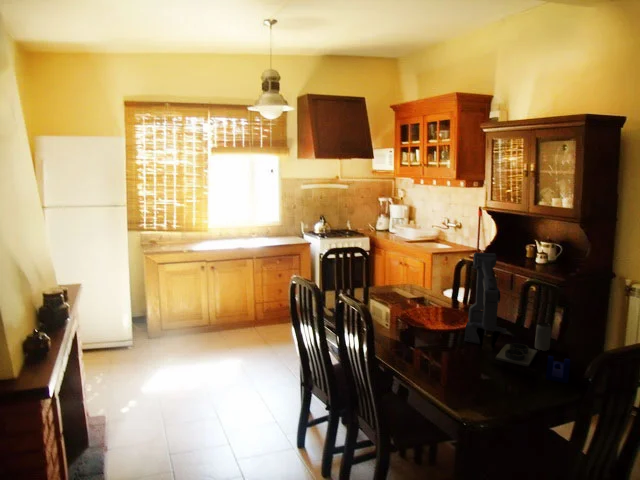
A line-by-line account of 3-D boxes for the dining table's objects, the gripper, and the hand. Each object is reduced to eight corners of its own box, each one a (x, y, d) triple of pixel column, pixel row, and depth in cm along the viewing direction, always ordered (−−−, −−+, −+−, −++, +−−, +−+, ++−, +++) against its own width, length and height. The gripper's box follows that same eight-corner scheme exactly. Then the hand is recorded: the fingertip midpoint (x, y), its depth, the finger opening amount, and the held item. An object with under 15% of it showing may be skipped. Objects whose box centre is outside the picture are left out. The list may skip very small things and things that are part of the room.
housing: (495, 359, 237) (496, 352, 236) (506, 345, 253) (506, 339, 253) (528, 366, 230) (529, 360, 229) (537, 352, 246) (537, 346, 246)
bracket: (568, 383, 214) (570, 362, 212) (545, 379, 217) (547, 359, 216) (568, 367, 230) (570, 347, 229) (547, 364, 233) (549, 344, 232)
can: (550, 351, 247) (553, 327, 245) (535, 350, 248) (538, 326, 246) (547, 346, 253) (550, 322, 251) (533, 345, 255) (535, 321, 252)
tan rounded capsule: (480, 349, 233) (481, 336, 232) (483, 346, 237) (484, 333, 236) (490, 352, 231) (492, 338, 230) (493, 348, 235) (494, 335, 234)
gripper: (470, 315, 232) (468, 345, 234) (504, 322, 224) (502, 352, 227) (475, 311, 238) (472, 340, 240) (508, 317, 230) (506, 347, 233)
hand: (487, 346), depth 234 cm, fingers closed on tan rounded capsule, 4 cm apart
